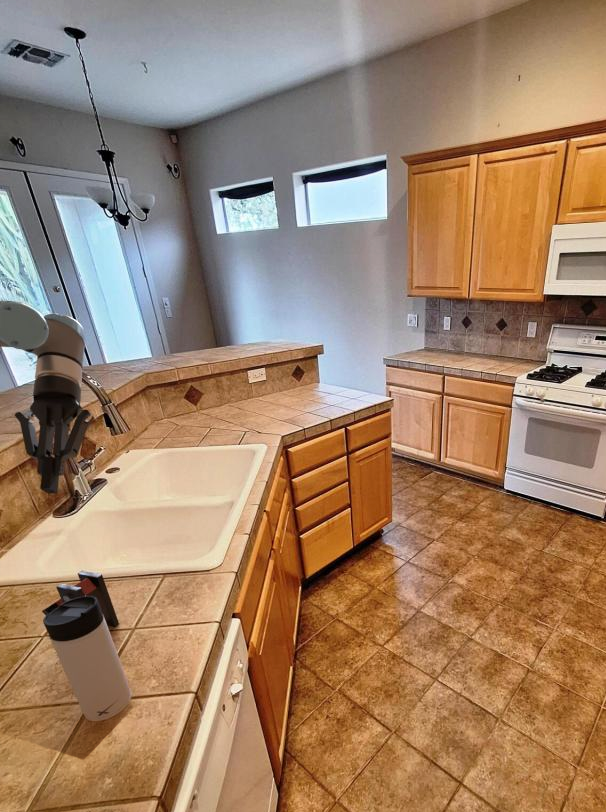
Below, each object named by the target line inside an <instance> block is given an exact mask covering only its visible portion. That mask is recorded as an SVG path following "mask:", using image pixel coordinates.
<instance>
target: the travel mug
mask: <svg viewBox="0 0 606 812" xmlns="http://www.w3.org/2000/svg"><path fill="white" fill-rule="evenodd" d="M59 606H60V607H58V608H56V609H54V610H53V611H52V612H50V613H49V614H47V615H44V617H43V619H42V623H43V625H44V628H45V630H46V632H47V634H48V637H49V640H50V641H51V642H50V643H51V645H52V647H53V649H54V651H55V654H56V655H57V656H56V657H57V658H58V660H59V663H60V665H61V667H62V669H63V670H64V674H65V675H66V679H67V680H68V682H69V683H68V684H69V685H70V687H71V689H72V692H73V693H74V696H75V698H76V700H77V702H78V705H79V707H80V709H81V712H82V714H83V716H84V718H85V719H86V720H88V721H90V722H100V721H105V720H107V719H110V718H112V717H114V716H116V715H118V714H119V713H120V712H122V711H123V710H124V709H125V708H127V706H128V705H129V703H130V702H131V700H132V697H133V692H132V689H131V687H130V684H129V682H128V679H127V676H126V673H125V670H124V668H123V665H122V662H121V660H120V657H119V654H118V651H117V648H116V646H115V643H114V641H113V637H112V634H111V632H110V630H109V626H107V624H106V621H105V618H104V615H103V614H102V611H101V609H100V606H99V603H98V600H97V598H95V597H93V596H82V597H78V598H74V599H71V600H69V601H66V602H64V603H62V604H61V605H59Z"/></svg>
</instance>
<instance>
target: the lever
mask: <svg viewBox="0 0 606 812" xmlns="http://www.w3.org/2000/svg"><path fill="white" fill-rule="evenodd" d="M74 586H75V587H80V588H82V590H83V593H84V596H86V595H87V594H89V593H90V592H92V591H93V590H94V589H96V587H95V586H94V584H93V583H92V582H91V581H90V580H89V579H88V578H86V579H84V580H83V581H81V582H80V581H79V582H78V583H77V584H75V585H74ZM62 603H63V602H62V600H61V598H59V599H58V600H56V601H54V602H53V603H51V604H50V605H49V606H46V607H45V608H44V609H42V610H41V612H42V613H43V615H44V616H46V615H47V614H49V613H50V612H52V611H53V610H54V609H56V608H58V607H60V606H59V605H61V604H62Z"/></svg>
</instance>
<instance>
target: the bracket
mask: <svg viewBox="0 0 606 812" xmlns="http://www.w3.org/2000/svg"><path fill="white" fill-rule="evenodd" d="M77 576H78V579H79V582H81V581H83V580H84V579H86V578H88V579H89V580H90V581H91V582H92V583H93V584H94V586H95V587H96V589H94V590H93V591H92V592H90V593H89V594H87V595H86V596H93V597H95V598H97V600H98V603H99V606H100V609H101V611H102V614H103V615H104V618H105V621H106V624H107V626H108V627H111V628H116V627H118V626H120V621H119V619H118V616H117V613H116V610H115V607H114V605H113V602H112V599H111V597H110V594H109V591H108V588H107V584H106V581H105V579H104V576H103V574H101V573H97V572H93V571H92V572H91V571H87V570H80V571H79V572H77ZM55 588H56V591H57V592H58V596H59V599H61V600H62V602H63V603H64V602H66V601H69V600H71V599H74V598H78V597H82V596H84V593H83V590H82V588H80V587H75V585H70V584H65V583H60V584H57V586H56V587H55Z"/></svg>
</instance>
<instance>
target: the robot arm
mask: <svg viewBox="0 0 606 812" xmlns="http://www.w3.org/2000/svg"><path fill="white" fill-rule="evenodd" d="M0 348H14V349H16V350H20V351H24V352H27V353H30V354H33V355H35V356H36V365H35V373H34V384H33V392H32V398H33V402H32V403H31V405H30V406H29V410H26V411H25V412H21V411H17V412H15V413H14V417H15V418H16V419H17V421H18V422H19V425H20V430H21V434H22V439H23V445H24V448H25V453H26V454H27V455H28V456H29V457H31V458H32V460H33V459H34V460H35V461H37V467H36V473H37V475H39V476H40V490H42V491H43V492H45V493H46V494H48V495H52V494H58V493H59V483H60V482H59V480H60V476H64V474H65V467H66V461H67V460H68V459H71V458H72V459H75V458H77V457H78V455H79V452H80V449H81V447H82V444H83V441H84V439H85V436H86V433H87V430H88V428H89V426H90V424H92V422H93V421H94V420H95V416H94V414H93V413H91V411H90V410H88V409H86V408H85V409H83V408H82V405H81V398H82V386H83V385H82V383H83V370H84V369H83V367H84V356H85V348H86V336H85V330H84V327H83V325H81V324H80V322H78V321H77V320H76V319H74V318H73V317H71V316H70V315H66V314H59V313H55V312H51V313H47V314H44V315H42V314H41V313H40V312H39V311H38V310H36V309H35V308H34V307H31V306H30V305H28V304H25V303H23V302H20V301H14V300H0ZM35 417H36V418H37V420H38V425H39V432H38V436H37V432H36V427H35V425H34V424H35ZM73 421H74V423H73V425H72V422H73ZM71 425H72V428H71Z"/></svg>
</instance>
